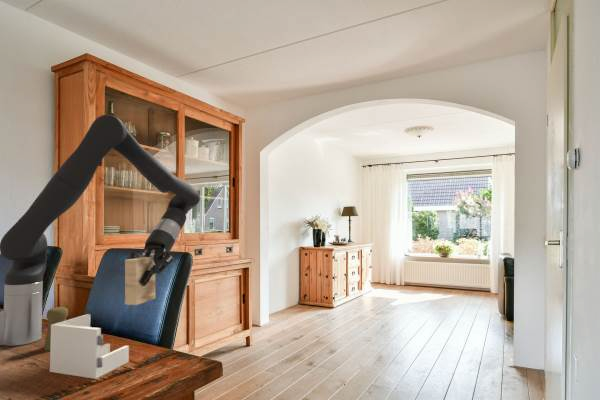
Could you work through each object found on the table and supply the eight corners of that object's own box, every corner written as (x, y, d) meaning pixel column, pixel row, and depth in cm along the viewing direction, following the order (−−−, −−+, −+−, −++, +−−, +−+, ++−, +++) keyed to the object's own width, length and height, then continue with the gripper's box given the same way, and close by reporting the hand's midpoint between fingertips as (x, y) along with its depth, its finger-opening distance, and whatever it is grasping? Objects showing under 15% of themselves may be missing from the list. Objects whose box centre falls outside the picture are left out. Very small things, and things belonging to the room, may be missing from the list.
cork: (57, 351, 103) (57, 310, 103) (38, 349, 104) (39, 309, 104) (74, 344, 109) (75, 305, 109) (56, 342, 110) (57, 304, 110)
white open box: (86, 356, 99) (86, 314, 100) (132, 362, 95) (132, 318, 95) (49, 371, 89) (50, 324, 90) (99, 379, 85) (100, 330, 85)
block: (145, 298, 109) (145, 256, 110) (155, 298, 108) (155, 256, 109) (125, 304, 102) (125, 259, 102) (135, 305, 101) (135, 260, 101)
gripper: (138, 228, 115) (107, 275, 103) (178, 228, 111) (150, 276, 99) (150, 244, 120) (121, 290, 108) (188, 244, 116) (163, 292, 104)
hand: (135, 283), depth 103 cm, fingers closed on block, 3 cm apart
